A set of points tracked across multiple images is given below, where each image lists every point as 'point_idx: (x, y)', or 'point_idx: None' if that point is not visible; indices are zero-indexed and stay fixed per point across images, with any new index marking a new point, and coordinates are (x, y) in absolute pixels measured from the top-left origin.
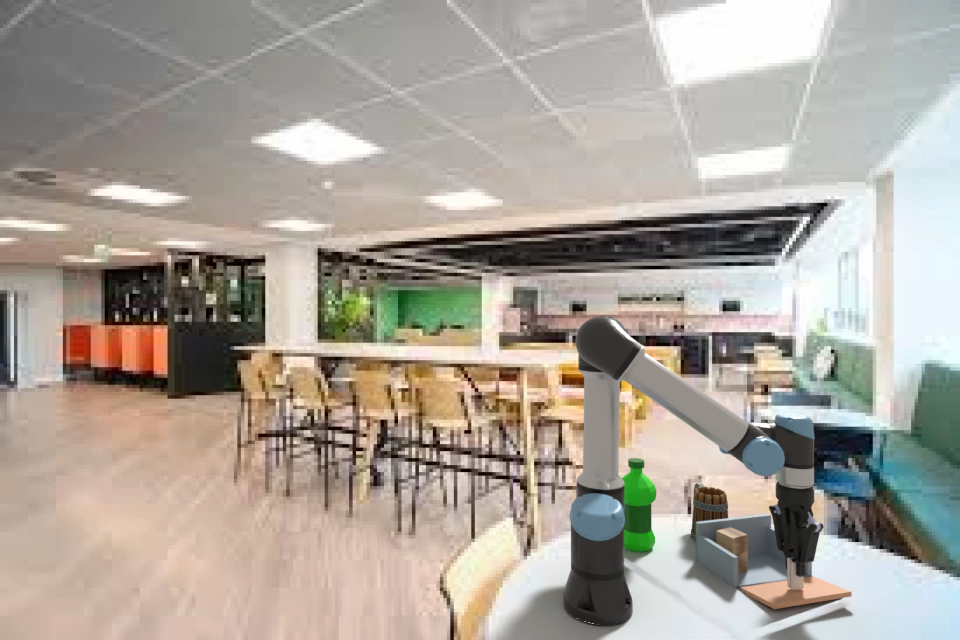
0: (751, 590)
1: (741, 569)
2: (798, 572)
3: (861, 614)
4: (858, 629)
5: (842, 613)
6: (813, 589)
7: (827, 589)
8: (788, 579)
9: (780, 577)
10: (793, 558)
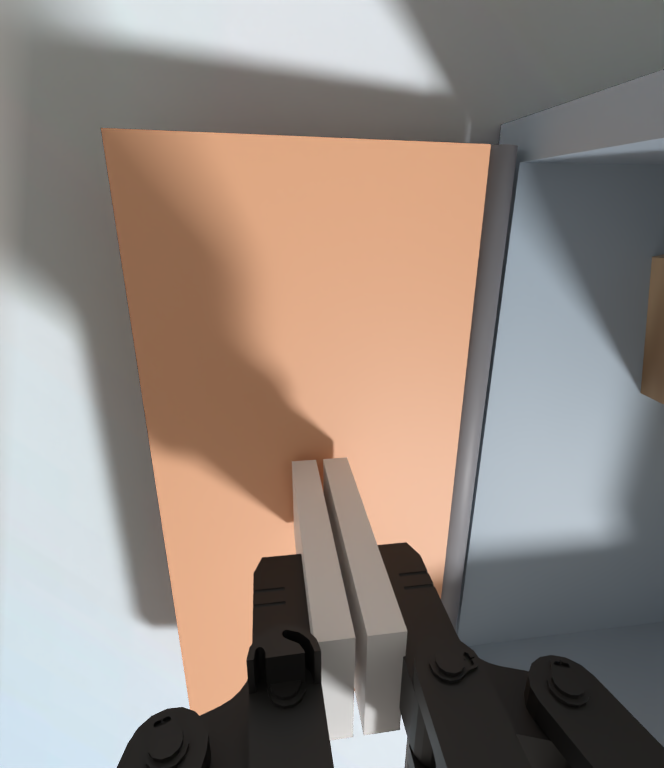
0: (412, 182)
1: (662, 343)
2: (272, 582)
3: (138, 654)
4: (3, 560)
5: (159, 587)
6: None
7: None
8: (345, 488)
9: (501, 520)
10: (316, 677)
